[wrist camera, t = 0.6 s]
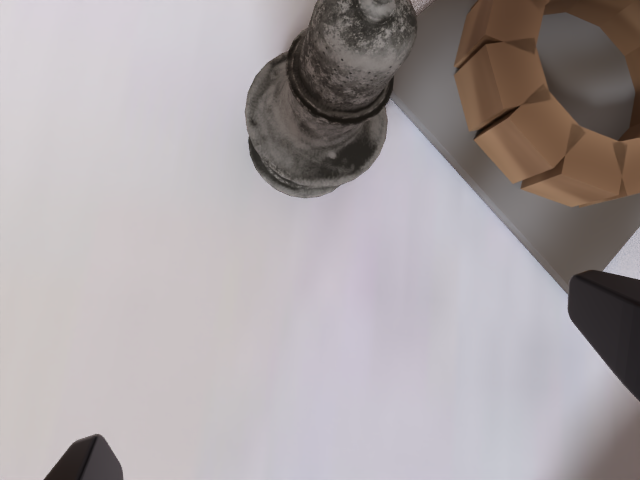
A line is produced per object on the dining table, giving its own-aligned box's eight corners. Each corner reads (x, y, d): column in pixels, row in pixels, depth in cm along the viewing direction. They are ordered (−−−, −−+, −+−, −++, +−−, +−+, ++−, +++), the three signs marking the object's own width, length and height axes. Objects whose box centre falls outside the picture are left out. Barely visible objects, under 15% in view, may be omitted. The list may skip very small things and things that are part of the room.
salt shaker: (261, 68, 23) (300, -177, 11) (375, 107, 23) (524, -80, 12) (226, 183, 22) (228, 49, 10) (347, 219, 23) (478, 136, 11)
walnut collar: (730, 109, 28) (802, 82, 24) (571, 298, 24) (629, 298, 21) (552, -98, 27) (601, -157, 24) (361, 66, 24) (385, 25, 20)
